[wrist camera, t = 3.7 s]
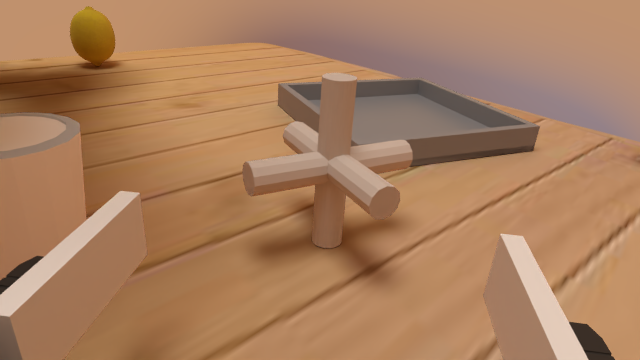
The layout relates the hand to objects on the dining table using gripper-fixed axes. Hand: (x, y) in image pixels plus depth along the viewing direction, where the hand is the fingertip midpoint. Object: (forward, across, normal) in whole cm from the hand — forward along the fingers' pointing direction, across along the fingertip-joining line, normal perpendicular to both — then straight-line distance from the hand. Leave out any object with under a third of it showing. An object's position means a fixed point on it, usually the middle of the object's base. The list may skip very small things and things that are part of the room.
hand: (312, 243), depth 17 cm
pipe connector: (+10, 0, -6) cm, 11 cm away
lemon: (+47, -37, -6) cm, 60 cm away
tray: (+33, +5, -6) cm, 34 cm away
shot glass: (+5, -16, -6) cm, 18 cm away
